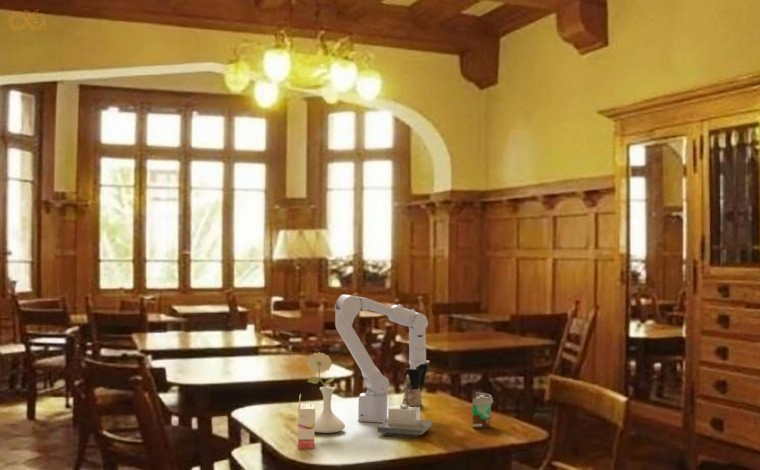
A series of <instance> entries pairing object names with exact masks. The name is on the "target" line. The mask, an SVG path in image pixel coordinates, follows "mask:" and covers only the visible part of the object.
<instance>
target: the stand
mask: <svg viewBox="0 0 760 470" xmlns="http://www.w3.org/2000/svg"><path fill="white" fill-rule="evenodd" d="M432 423H433V422H432V420H427V419H426V420H425V419H423V420H422V419H420V424H419V425H418V426H402V425H388V420H386V421H385V422H384V423H380V425H378V426H377V432H378V433H385V434H384V435H385V436H386V437H395V436H397V438H408V439H409V438H411V439H417V438H418V437H420V436H422V435H423V434H425V433H426V431H428V429H430V427H432V425H433V424H432Z"/></svg>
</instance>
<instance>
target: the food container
mask: <svg viewBox="0 0 760 470" xmlns="http://www.w3.org/2000/svg"><path fill="white" fill-rule="evenodd" d="M492 404H494V399H493V397H492V395H491V394H490V393H486V392H477V391H476V392H475V396H474V398H472V429H473V428H484V429H487V427H488V428H490V425H491V424H490V422H491V411H492V410H491V409H492Z"/></svg>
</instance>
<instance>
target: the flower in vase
mask: <svg viewBox="0 0 760 470" xmlns="http://www.w3.org/2000/svg"><path fill="white" fill-rule="evenodd" d="M305 363H306V365H307V367H308V369H309V370H310V371H312V372H316V373H318V377H316V376H312V377H310V378H309V379H308V380H307V383H311V384H314V385H315V384H318V383H319V382H321V384H322V385H323V386H320V387H319V390H320V392H321V395H322V396H323V397H322V398H323V409H322V412H321V413H320V414H319V415H318V416H316V417H315V433H321V434H322V433H323V434H333V433H338V432H340V431H343V430H344V429H345V428H346V425H345V423H344V422H343V420H341V419H340V417H338V416H336V414H334V412H333V410H332V395H333V393H334V391H335V390H336V387H334V386H326V384H327V385H328V384H330V383H332V382H334V380H335V378H336V376H334V377H332V378H330V379H326V381H325V382H323V380H322V379H321V375H320V374H321V373H325V372H326V371H329V370H330V368H331V366H332V365H333V362H332V359H331V357H330V356H329V354H328V355H327V354H325V353H324V352H320V351H318V352H317V353H316V352H314V353H313V354H310V355H309V356H308V358H307V361H306V362H305Z"/></svg>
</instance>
